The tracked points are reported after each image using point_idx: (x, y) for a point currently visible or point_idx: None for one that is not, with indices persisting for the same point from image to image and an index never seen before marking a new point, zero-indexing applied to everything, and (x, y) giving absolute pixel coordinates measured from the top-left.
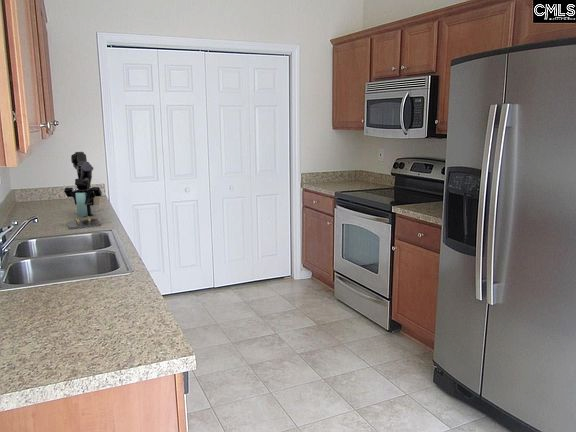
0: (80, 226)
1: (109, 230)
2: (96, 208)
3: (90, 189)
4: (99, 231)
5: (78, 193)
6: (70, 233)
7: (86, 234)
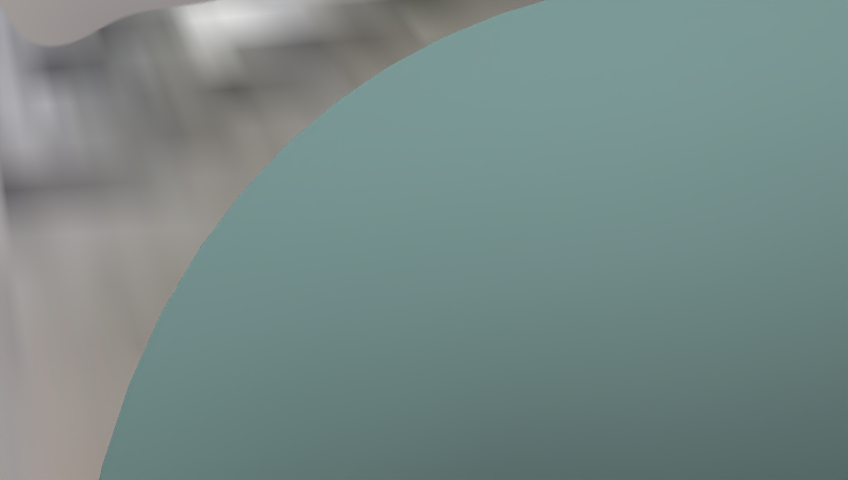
0: None
1: (32, 187)
2: None
3: None
4: (137, 136)
5: (646, 22)
6: (438, 31)
7: (238, 15)
